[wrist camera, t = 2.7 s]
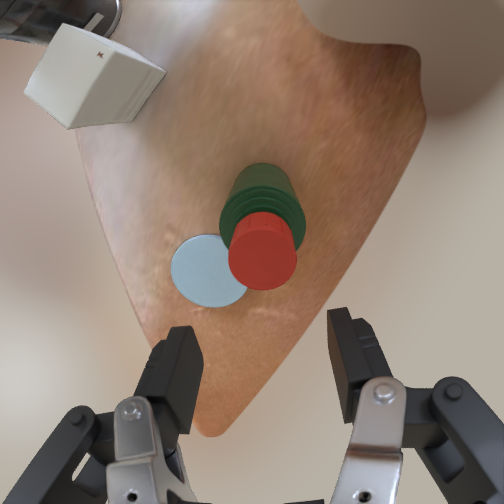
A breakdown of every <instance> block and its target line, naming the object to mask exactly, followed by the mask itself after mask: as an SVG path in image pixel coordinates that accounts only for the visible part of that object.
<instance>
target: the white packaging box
mask: <svg viewBox="0 0 504 504" xmlns="http://www.w3.org/2000/svg"><path fill="white" fill-rule="evenodd" d="M165 74H166V71H164V70H163V69H161V68H160V67H158V66H157V65H155V64H154V63H152V62H151V61H149V60H148V59H146V58H145V57H143V56H142V55H140V54H138V53H137V52H135V51H133V50H131V49H130V48H128V47H126V46H124V45H122V44H119V43H117V42H114V41H112V40H109V39H107V38H104V37H102V36H99V35H97V34H94V33H92V32H89V31H86V30H83V29H80V28H77V27H74V26H71V25H68V24H65V23H62V25H61V26H60V28H59V29H58V31H57V32H56V34H55V36H54V37H53V39H52V40H51V42H50V44H49V45H48V47H47V49H46V51H45V52H44V54H43V56H42V58H41V59H40V61H39V63H38V65H37V67H36V69H35V71H34V73H33V74H32V77H31V78H30V81H29V82H28V84H27V87H26V89H25V91H24V94H25V95H27V96H28V97H29V98H30V99H32V100H33V101H34V102H35V103H37V104H38V105H39V106H40V107H42V108H43V109H44V110H45V111H46V112H47V113H49V114H50V115H51V116H52V117H53V118H54V119H55V120H57V121H58V122H59V123H60V124H61V125H63V126H64V127H65V128H66V129H67V130H69V129H74V128H80V127H87V126H95V125H104V124H114V123H123V122H132V121H133V119H134V117H135V116H136V115H137V113H138V112H139V110H140V109H141V107H142V106H143V104H144V103H145V101H146V100H147V99H148V97H149V96H150V94H151V93H152V92H153V90H154V89H155V87H156V86H157V85H158V83H159V82H160V81H161V79H162V78H163V77H164V75H165Z"/></svg>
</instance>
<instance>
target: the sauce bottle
mask: <svg viewBox="0 0 504 504" xmlns="http://www.w3.org/2000/svg"><path fill="white" fill-rule="evenodd" d="M256 212H269V213H273V214H275V215H277V216H279V217H281V218H282V219H283V220H284V221H285V222H286V223H287V225H288V226H289V228H290V229H291V232H292V236H293V240H294V244H295V245H294V247H295V251H297V250H298V248H299V247H300V245H301V243H302V241H303V239H304V236H305V230H306V221H305V216H304V213H303V210H302V208H301V205H300V203H299V201H298V199H297V196H296V194H295V192H294V190H293V187H292V185H291V183H290V181H289V179H288V177H287V175H286V174H285V173H284V172H283V171H282V170H281V169H280V168H278V167H276V166H274V165H272V164H267V163H258V164H254V165H251V166H249V167H247V168H246V169H244V170H243V171H242V172H241V173H240V174H239V176H238V177H237V179H236V181H235V184H234V186H233V188H232V190H231V192H230V195H229V197H228V199H227V201H226V204H225V206H224V208H223V210H222V213H221V216H220V222H219V229H220V235H221V238H222V241H223V243H224V245H225V246H226V248H227V249H228V250H229V247H230V243H231V240H232V237H233V234H234V231H235V228H236V226H237V223H239V222H240V221H241V220H242V219H243V218H245V217H246V216H248V215H249V214H252V213H256Z"/></svg>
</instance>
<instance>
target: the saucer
mask: <svg viewBox="0 0 504 504" xmlns="http://www.w3.org/2000/svg"><path fill="white" fill-rule="evenodd" d="M228 251H229V250H228V249H227V248H226V246H225V245H224V243H223V241H222V238H221V236H217V235H199V236H195V237H193V238H190V239H189V240H187V241H185V242H184V243H183V244H182V245H181V246H180V247H179V248H178V249H177V251H176V253H175V254H174V256H173V259H172V263H171V275H172V279H173V281H174V284H175V286H176V287H177V289H178V290H179V291H180V293H181V294H182V295H183V296H185V297H186V298H187V299H188V300H190V301H192V302H193V303H196V304H198V305H201V306H205V307H213V308H214V307H223V306H227V305H230V304H232V303H234V302H235V301H237V300H238V299H239V298H241V297H242V295H243V294H244V293H245V292H246V290H247V288H248V287H246V286H244V285H242V284H241V283H240V282H238V281H237V280H236V279H235V277H234V276H233V275H232V273H231V271H230V268H229V264H228V255H229V254H228Z"/></svg>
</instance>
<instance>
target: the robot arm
mask: <svg viewBox="0 0 504 504" xmlns="http://www.w3.org/2000/svg"><path fill="white" fill-rule="evenodd" d="M121 10H122V6H121V1H120V0H0V39H7V40H14V41H21V42H27V43H32V44H38V45H43V46H48V45H49V44H50V42H51V40H52V39H53V37H54V36H55V34H56V32H57V31H58V29H59V28H60V26H61V25H62V23H65V24H68V25H71V26H74V27H77V28H80V29H83V30H86V31H89V32H92V33H94V34H97V35H99V36H102V37H104V38H108V37H109V36H110V35H111V34H112V32H113V31H114V29H115V28H116V26H117V24H118V22H119V19H120V16H121ZM327 333H328V349H329V355H330V360H331V364H332V369H333V373H334V377H335V382H336V386H337V391H338V395H339V400H340V405H341V410H342V414H343V419H344V423H345V424H346V423H351V422H352V423H353V431H352V434H351V438H350V442H349V446H348V448H347V451H346V454H345V458H344V461H343V465H342V468H341V471H340V474H339V477H338V481H337V484H336V487H335V490H334V493H333V496H332V498H331V501H330V504H395V501H396V496H397V491H398V486H399V481H400V475H401V470H402V462H403V453H402V452H401V448H415V450H416V452H417V453H418V455H419V456H420V458H421V460H422V461H423V463H424V464H425V466H426V468H427V469H428V471H429V472H430V474H431V476H432V477H433V479H434V480H435V482H436V484H437V485H438V487H439V489H440V490H441V492H442V494H443V495H444V497H445V498H446V500H447V502H448V504H504V424H503V422H502V421H501V420H500V419H499V418H498V416H497V415H496V414H495V413H494V412H493V411H492V409H491V408H490V407H489V406H488V405H487V404H486V403H485V401H484V400H483V399H482V398H481V397H480V396H479V394H478V393H477V392H476V391H475V390H474V389H473V388H472V387H471V386H470V384H469V383H468V382H467V381H465V380H464V379H462V378H459V377H446V378H443V379H441V380H439V381H438V382H437V383H436V384H435V386H434V388H432V389H431V388H428V389H427V388H425V389H424V388H409V387H406V386H404V385H403V384H402V383H401V382H400V381H399V380H397V379H395V378H394V377H393V375H392V373H391V371H390V368H389V366H388V363H387V361H386V359H385V356H384V354H383V351H382V349H381V347H380V345H379V342H378V340H377V338H376V336H375V333H374V331H373V329H372V327H371V325H370V324H369V323H367V322H366V321H365V320H364V319H363V318H359V319H354V320H352V318H351V316H350V313H349V311H348V308H347V307H343V308H337V309H332V310H327ZM203 366H204V362H203V355H202V352H201V349H200V347H199V344H198V341H197V339H196V336H195V333H194V330H193V328H192V327H191V326H178V327H172V328H171V329H170V331H169V334H168V336H167V339H166V340H161V341H160V342H159V343H158V344H157V345H156V346H155V347H154V348H153V349H152V352H151V354H150V356H149V360H148V361H147V363H146V366H145V367H146V368H144V371H143V373H142V376H141V378H140V380H139V383H138V385H137V388H136V390H135V393H134V395H133V396H132V397H128V398H126V399H124V400H123V401H121V402H120V403H119V404H118V405H117V407H116V409H115V411H114V412H108V413H102V414H95V413H94V412H93V410H91V408H89V407H88V406H77V407H74V408H72V409H71V410H70V411H69V412H68V413H67V414H66V415H65V416H64V418H63V419H62V420H61V422H60V423H59V424H58V426H57V427H56V428H55V430H54V431H53V432H52V434H51V435H50V436H49V438H48V439H47V440H46V442H45V443H44V445H43V446H42V447H41V449H40V450H39V451H38V453H37V454H36V456H35V457H34V458H33V460H32V461H31V462H30V464H29V465H28V467H27V468H26V470H25V471H24V473H23V474H22V475H21V477H20V478H19V480H18V481H17V483H16V484H15V486H14V487H13V489H12V490H11V491H10V493H9V494H8V496H7V498H6V499H5V501H4V502H3V504H105V503H106V501H107V499H108V504H211V503H199V502H198V501H197V498H196V496H195V495H194V493H193V491H192V490H191V488H190V485H189V481H188V478H187V474H186V470H185V466H184V462H183V458H182V453H181V449H180V446H179V444H178V442H177V440H178V436H179V434H189V433H190V428H191V423H192V419H193V414H194V409H195V405H196V400H197V395H198V391H199V386H200V381H201V377H202V372H203ZM86 453H88V454H89V455H90V458H89V459H88V461H87V462H86V464H85V465H84V467H83V469H82V470H81V472H80V473H79V475H78V476H77V478H76V479H75V480H74V481H72V475H73V472H74V471H75V469H76V468H77V466H78V465H79V463H80V462H81V460H82V459H83V457H84V456H85V454H86ZM285 504H324V499H321V500H314V501H305V502H295V503H285Z"/></svg>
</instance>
